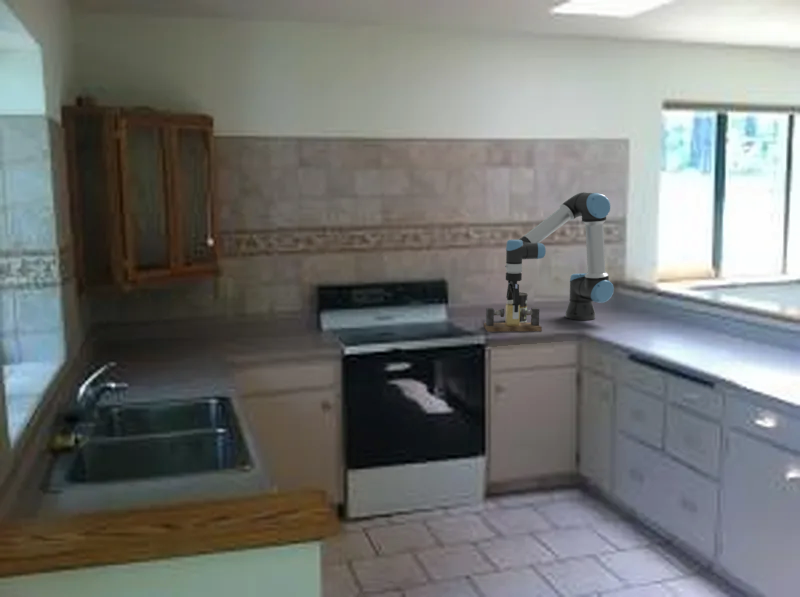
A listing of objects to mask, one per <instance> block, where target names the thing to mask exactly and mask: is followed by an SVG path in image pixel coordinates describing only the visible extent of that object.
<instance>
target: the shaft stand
mask: <svg viewBox="0 0 800 597" xmlns="http://www.w3.org/2000/svg"><path fill="white" fill-rule="evenodd" d="M525 315H527V316H530V322H525V323H519V326H507V325H506V324H505V322H494V321H495V320H494V318H495V317H494V316H500V317H501V318H504V317H505V309H504V308H500V309H499V310H498V309H497V310H496V309H494V308H493V307H486V308H485V322H483V328H484V330H487V331H486V332H492V333H494V332H501V333H502V332H542V328H543V327H542V325H540V308H539V307H531V309H527V310H525V308H522V309H521V316H522V317H525Z"/></svg>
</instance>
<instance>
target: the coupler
mask: <svg viewBox="0 0 800 597" xmlns="http://www.w3.org/2000/svg"><path fill="white" fill-rule="evenodd" d="M504 317H505V320H504V321H505V322H504V323H505V324H506V325H507V326H519V323H520V305H519V319H513V305H512V304H507V303H505V315H504Z"/></svg>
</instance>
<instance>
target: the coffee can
mask: <svg viewBox="0 0 800 597" xmlns="http://www.w3.org/2000/svg"><path fill="white" fill-rule="evenodd" d="M528 295H529V294H528V293H526V292H520V291H519V296H520V323H528V315H525V317H522V316H521V309H522V308H525V310H528Z"/></svg>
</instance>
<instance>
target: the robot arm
mask: <svg viewBox="0 0 800 597" xmlns="http://www.w3.org/2000/svg"><path fill="white" fill-rule="evenodd" d="M610 211H611V203H610V200H609V198H608V197H607V196H606V195H604V194H603V193H602V194H601V193H599V192H580V193H576V194H575V195H573V196H571V197H570V198H568V199H567V200H566V201H564V202H563V203H561V205H559V208H558V209H557V210H556V211H555V212H553V213H552V214H550V215H549V216H548V217H547V218H546V219H544V220H543V221H541V222H540V223H539V224H538V225H536V226H535V227H533V228H532V229H531V230H530V231H528V232H527V233H525V234H524V235H523V236H521V237H520V238H519V239H508V240H507V241H506V246H505V247H506V248H505V250H506V251H505V252H506V254H505V256H506V257H505V258H506V260H505V264H506V265H504V268H505V271H506V273H505V280H506V281H507V290H506V304H512V305H513V319H519V305H520V296H519V292H520V284H519V283H518V282H520V281H522V277H523V276H522V274H523V273H522V272H523V260H539V259H543V258H545V255H546V252H547V250H546V249H547V248H546V246H545V244H544V243H542V241H544V240H545V239H547V237H549V236H551V235H552V234H553V233H555V231H557V230H558V229H560V228H561V227H563V225H565V224H566V223H568V222H569V221H571V222H572V221H573V220H575V219H577V218H579V217H581V222H582V224H584V227H585V228H584V229H585V244H586V246H585V247H586V267H587V269H586V270H587V272H586V273H572V274H571V275H570V279H569V302H568V305H567V308H566V311H565V316H564V317H565V318H567V319H568V320H569V319H570V320H577V321H589V320H591V321H592V320H595V319H596V311H595V307H594V304H593V303H599V304H604V303H606V302H608V301H609V300H610V299H611V298H612V297H613V295H614V290H615V287H614V284H613V283H612V282H611V281H610V279H609V278H610V275H609V273H608V272H607V271H606V260H605V258H606V256H605V255H606V254H605V233H604V223H605V222H606V221H607V216H608V215H609V213H610Z"/></svg>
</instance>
